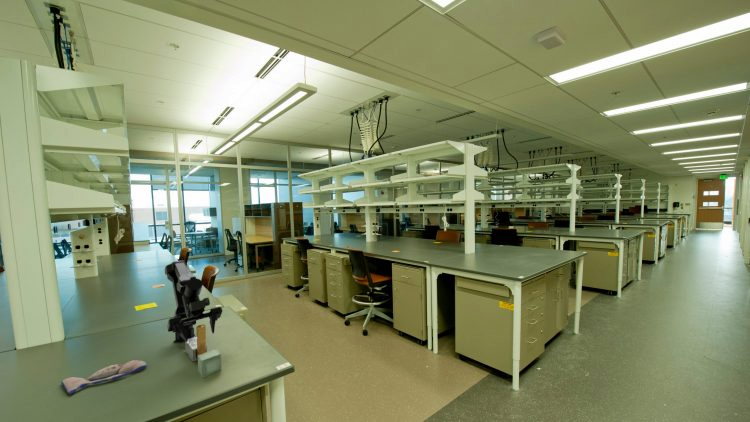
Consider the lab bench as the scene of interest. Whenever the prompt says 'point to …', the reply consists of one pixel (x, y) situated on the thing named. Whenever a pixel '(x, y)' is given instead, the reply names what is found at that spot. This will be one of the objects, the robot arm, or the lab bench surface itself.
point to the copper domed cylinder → (201, 340)
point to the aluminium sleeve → (192, 348)
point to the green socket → (209, 363)
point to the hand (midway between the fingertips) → (200, 337)
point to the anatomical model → (103, 375)
